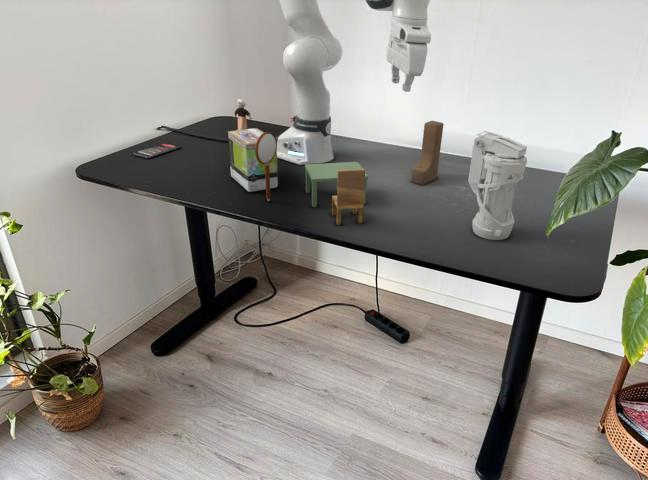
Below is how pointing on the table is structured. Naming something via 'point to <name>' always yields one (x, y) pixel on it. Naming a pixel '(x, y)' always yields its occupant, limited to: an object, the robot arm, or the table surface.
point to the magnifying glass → (266, 155)
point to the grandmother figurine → (242, 115)
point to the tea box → (249, 161)
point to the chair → (349, 193)
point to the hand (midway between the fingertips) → (400, 86)
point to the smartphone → (156, 150)
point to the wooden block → (429, 154)
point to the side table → (327, 176)
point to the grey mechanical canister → (495, 183)
